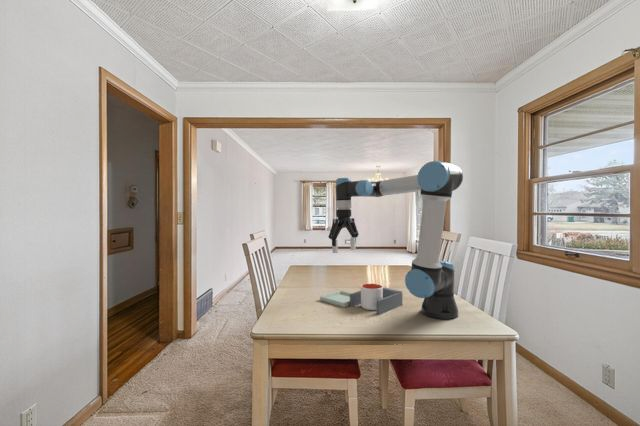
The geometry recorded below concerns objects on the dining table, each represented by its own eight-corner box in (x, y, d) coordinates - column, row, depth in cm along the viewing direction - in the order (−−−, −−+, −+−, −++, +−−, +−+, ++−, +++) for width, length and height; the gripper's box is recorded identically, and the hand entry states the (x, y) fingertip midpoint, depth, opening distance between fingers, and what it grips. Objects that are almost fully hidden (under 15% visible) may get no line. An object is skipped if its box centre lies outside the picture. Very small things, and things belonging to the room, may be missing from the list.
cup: (381, 304, 153) (381, 283, 153) (383, 311, 143) (383, 289, 143) (360, 304, 154) (360, 283, 154) (361, 310, 144) (361, 288, 144)
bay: (402, 304, 152) (402, 290, 152) (379, 314, 139) (379, 299, 139) (373, 298, 164) (373, 284, 164) (349, 306, 150) (349, 292, 150)
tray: (365, 300, 160) (365, 296, 160) (344, 307, 149) (344, 303, 149) (341, 294, 172) (341, 290, 171) (320, 300, 160) (320, 296, 160)
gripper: (353, 208, 172) (354, 248, 172) (320, 209, 154) (321, 253, 155) (364, 208, 166) (365, 249, 167) (332, 209, 149) (332, 254, 149)
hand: (344, 251), depth 161 cm, fingers open, 13 cm apart
